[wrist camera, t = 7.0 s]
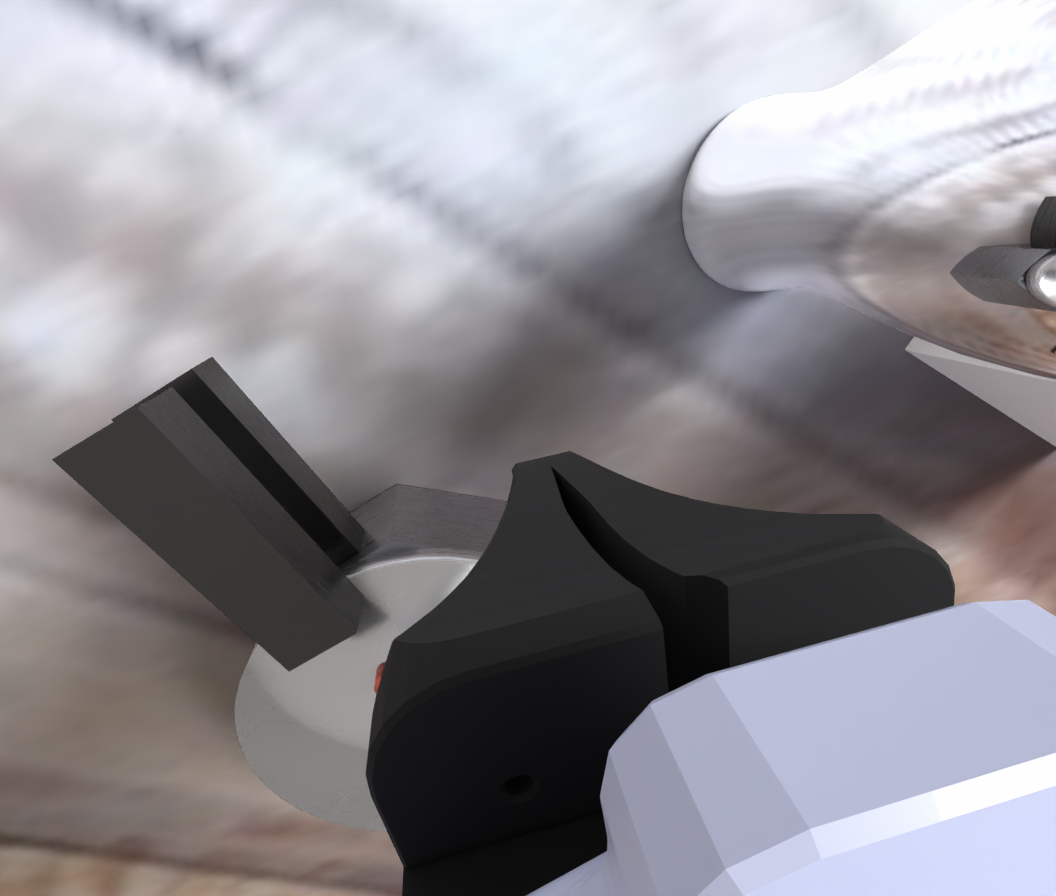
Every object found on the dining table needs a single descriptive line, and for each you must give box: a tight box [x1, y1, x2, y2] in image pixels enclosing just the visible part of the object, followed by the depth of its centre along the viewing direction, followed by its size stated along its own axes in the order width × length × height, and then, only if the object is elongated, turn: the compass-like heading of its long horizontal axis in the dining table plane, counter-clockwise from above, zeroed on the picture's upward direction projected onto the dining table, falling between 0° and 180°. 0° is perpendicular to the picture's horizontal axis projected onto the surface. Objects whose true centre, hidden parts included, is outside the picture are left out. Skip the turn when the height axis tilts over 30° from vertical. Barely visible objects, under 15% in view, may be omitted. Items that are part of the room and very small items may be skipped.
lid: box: [52, 387, 484, 831], centre depth 16 cm, size 19×12×2 cm, turn 29°
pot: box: [112, 357, 507, 569], centre depth 20 cm, size 21×12×4 cm, turn 30°
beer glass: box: [682, 0, 1056, 380], centre depth 11 cm, size 7×7×15 cm
